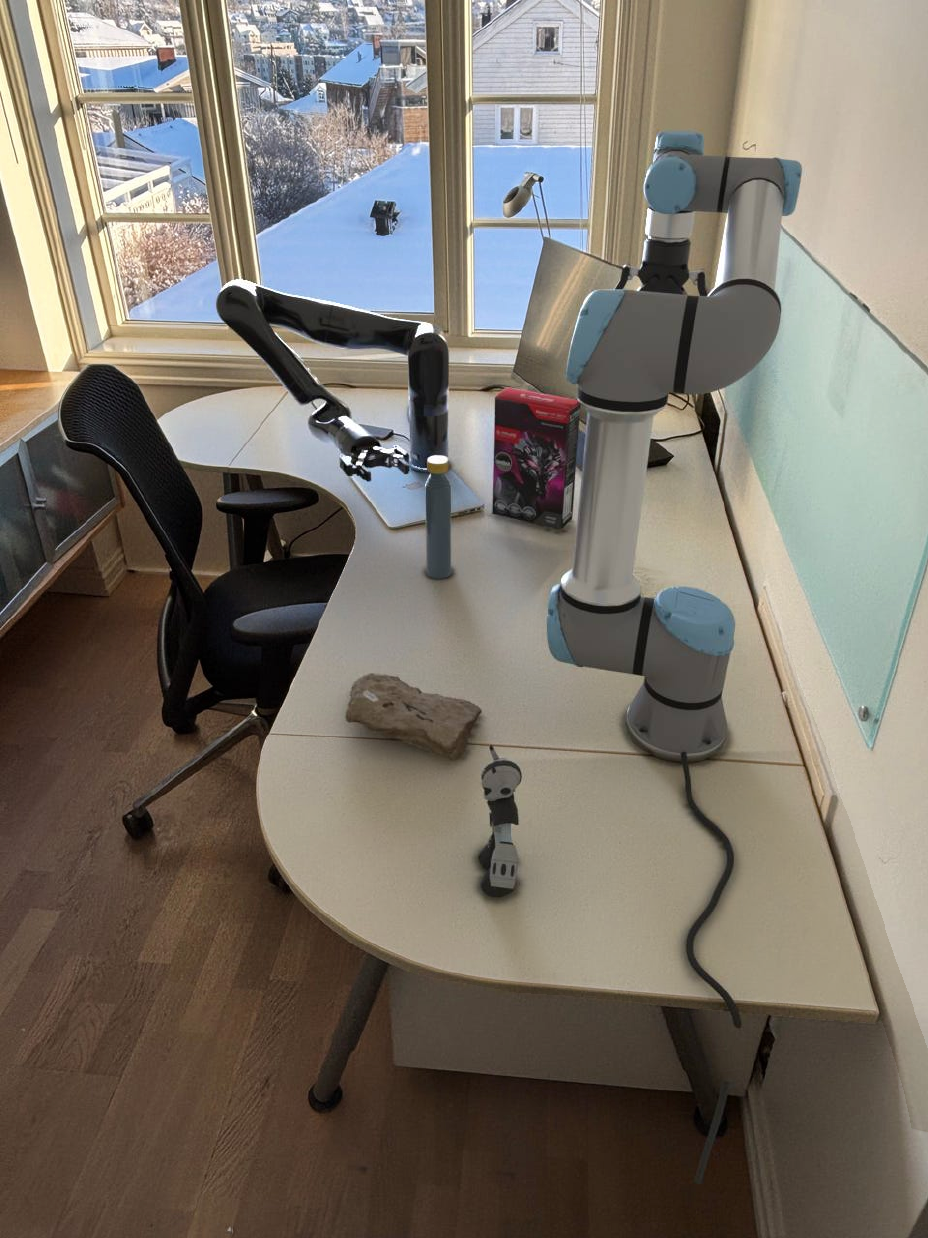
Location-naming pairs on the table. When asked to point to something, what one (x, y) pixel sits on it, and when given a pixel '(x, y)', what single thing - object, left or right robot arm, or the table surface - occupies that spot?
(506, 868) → the robot
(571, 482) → the graphics card box
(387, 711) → the stone
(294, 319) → the left robot arm
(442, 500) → the bottle
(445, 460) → the cap
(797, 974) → the table surface
